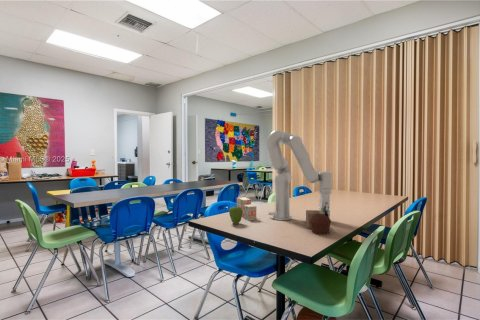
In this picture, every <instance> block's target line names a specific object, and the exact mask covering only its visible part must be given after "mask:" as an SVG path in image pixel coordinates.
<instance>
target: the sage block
mask: <svg viewBox="0 0 480 320" xmlns="http://www.w3.org/2000/svg"><path fill="white" fill-rule="evenodd" d="M318 208H319V209H318V210H321V211H322V212H323V209H321V208H320V207H318ZM324 209H326V208H324ZM324 211H325V210H324ZM328 217H329V218H330V219H331V210H330V208H329V209H328Z"/></svg>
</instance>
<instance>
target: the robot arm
mask: <svg viewBox="0 0 480 320" xmlns="http://www.w3.org/2000/svg"><path fill="white" fill-rule="evenodd" d="M266 140H267V141H266V147H267V151H268V155H269V159H270V163H271V167H272V168H273V170H275V171H276V175H275V177H274V192H275V193H274V194H275V196H274V198H275V199H274V203H275V206H274V207H275V209H274V211H270V212H269V211H268V215H269V216H273V217H272V219H274V220H276V221H290V220H292V219H293V216H292V215H290V214H291V213H290V211H291V210H290V182H291V181H292V173H291V170H290V166H289V163H288V160H287V159H286V158H285V157H284V155H283V153H282V150H281V149H282V148H281V146H280V144H283V145H285V146H287V147H289V148H290V150H291V152H292V153H293V155H294V156H295V159H296V160H297V163H298V166H299V168H300V169H301V172H302V174H303V176H304V178H305V180H306V181H307V182H308V183H310V184H315V183H317V182H318V183H319V184H318V193H319V201H318V208H321V209H323V213H324V215H326V216H327V217H328V209H329V210H330V207H331V206H330V205H331V203H330V201H331V200H330V199H331V197H330V194H332V181H333V180H332V175H333V174H332V172H331V171H320V170H319V171H318V170H316V169H315V168H314V165H313V163H312V161H311V157H310V154H309V152H308V150H307V148H306V146H305V145H304V142H303V139H302V137H301V136H300V135H295V134H292V133H289V132H286V131H284V130H281V129H276V130H275V129H274V130H273V131H272V132H270V133H269V135H268V137H267V139H266ZM324 208H326V209H324ZM324 210H325V211H324Z"/></svg>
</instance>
